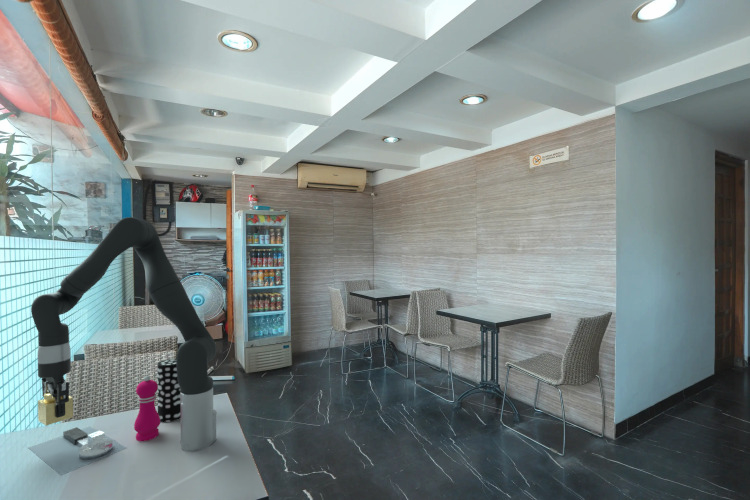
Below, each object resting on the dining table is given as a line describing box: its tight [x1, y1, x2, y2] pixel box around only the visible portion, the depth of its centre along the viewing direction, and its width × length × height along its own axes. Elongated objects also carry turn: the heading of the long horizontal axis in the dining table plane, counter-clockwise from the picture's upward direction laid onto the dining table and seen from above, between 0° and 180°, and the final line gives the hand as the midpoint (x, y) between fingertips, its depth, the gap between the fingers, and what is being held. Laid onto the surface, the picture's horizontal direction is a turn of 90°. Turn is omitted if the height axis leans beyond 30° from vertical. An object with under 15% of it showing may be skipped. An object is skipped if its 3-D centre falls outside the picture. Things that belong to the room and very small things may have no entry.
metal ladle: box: [62, 427, 113, 460], centre depth 114 cm, size 8×24×6 cm, turn 58°
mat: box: [28, 426, 127, 476], centre depth 113 cm, size 16×26×1 cm, turn 58°
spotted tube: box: [156, 358, 181, 423], centre depth 134 cm, size 8×8×20 cm
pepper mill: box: [133, 375, 161, 442], centre depth 119 cm, size 7×7×20 cm
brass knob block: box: [37, 392, 74, 427], centre depth 111 cm, size 6×6×8 cm
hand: (55, 413), depth 111 cm, fingers closed on brass knob block, 6 cm apart
